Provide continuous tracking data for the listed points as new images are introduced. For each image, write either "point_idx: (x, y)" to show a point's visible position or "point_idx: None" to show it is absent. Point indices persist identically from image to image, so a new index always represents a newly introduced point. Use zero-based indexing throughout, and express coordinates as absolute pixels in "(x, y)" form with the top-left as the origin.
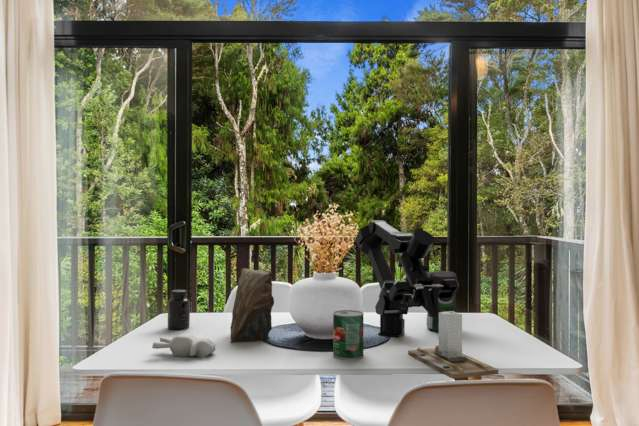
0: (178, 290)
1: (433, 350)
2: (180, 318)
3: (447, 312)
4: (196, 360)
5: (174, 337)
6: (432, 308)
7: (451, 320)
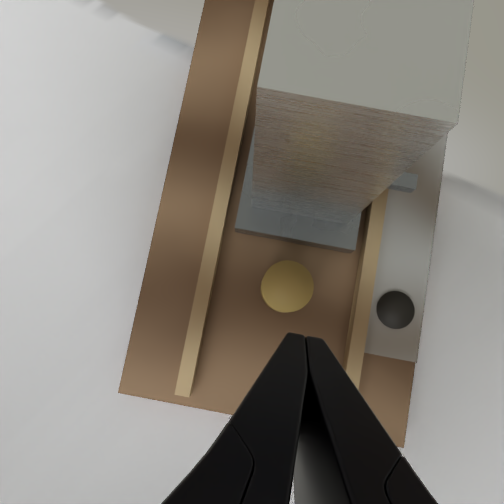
0: None
1: (258, 371)
2: None
3: (375, 57)
4: None
5: None
6: (343, 387)
7: None
